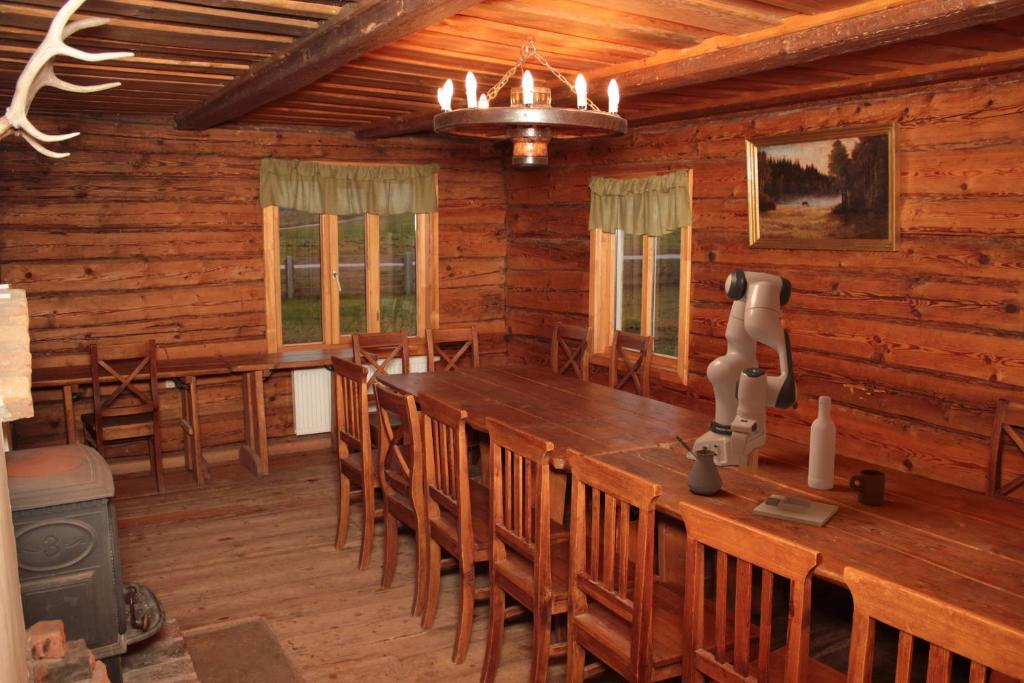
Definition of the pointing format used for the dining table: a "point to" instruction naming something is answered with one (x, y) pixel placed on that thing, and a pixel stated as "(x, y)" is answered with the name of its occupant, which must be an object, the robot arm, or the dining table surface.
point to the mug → (869, 486)
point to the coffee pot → (703, 472)
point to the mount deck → (796, 510)
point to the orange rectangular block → (750, 463)
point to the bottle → (822, 448)
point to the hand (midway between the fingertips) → (748, 464)
